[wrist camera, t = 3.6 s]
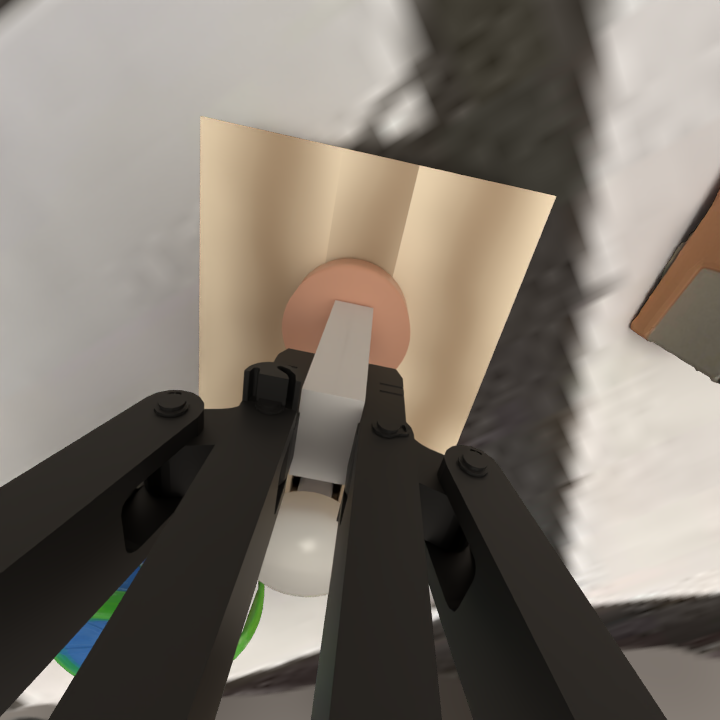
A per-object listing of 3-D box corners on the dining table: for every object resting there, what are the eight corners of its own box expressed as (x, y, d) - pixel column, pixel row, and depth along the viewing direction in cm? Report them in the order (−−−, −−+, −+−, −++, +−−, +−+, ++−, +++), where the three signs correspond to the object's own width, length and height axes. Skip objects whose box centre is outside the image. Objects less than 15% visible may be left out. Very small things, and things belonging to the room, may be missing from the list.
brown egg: (304, 321, 22) (275, 376, 17) (316, 230, 20) (289, 256, 14) (391, 339, 23) (393, 399, 17) (414, 251, 20) (425, 286, 14)
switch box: (230, 471, 31) (197, 536, 25) (250, 129, 20) (200, 116, 14) (401, 504, 31) (404, 574, 26) (511, 188, 20) (556, 196, 15)
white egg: (274, 489, 25) (242, 586, 19) (283, 426, 23) (248, 515, 17) (353, 504, 25) (343, 604, 20) (369, 443, 23) (364, 537, 17)
